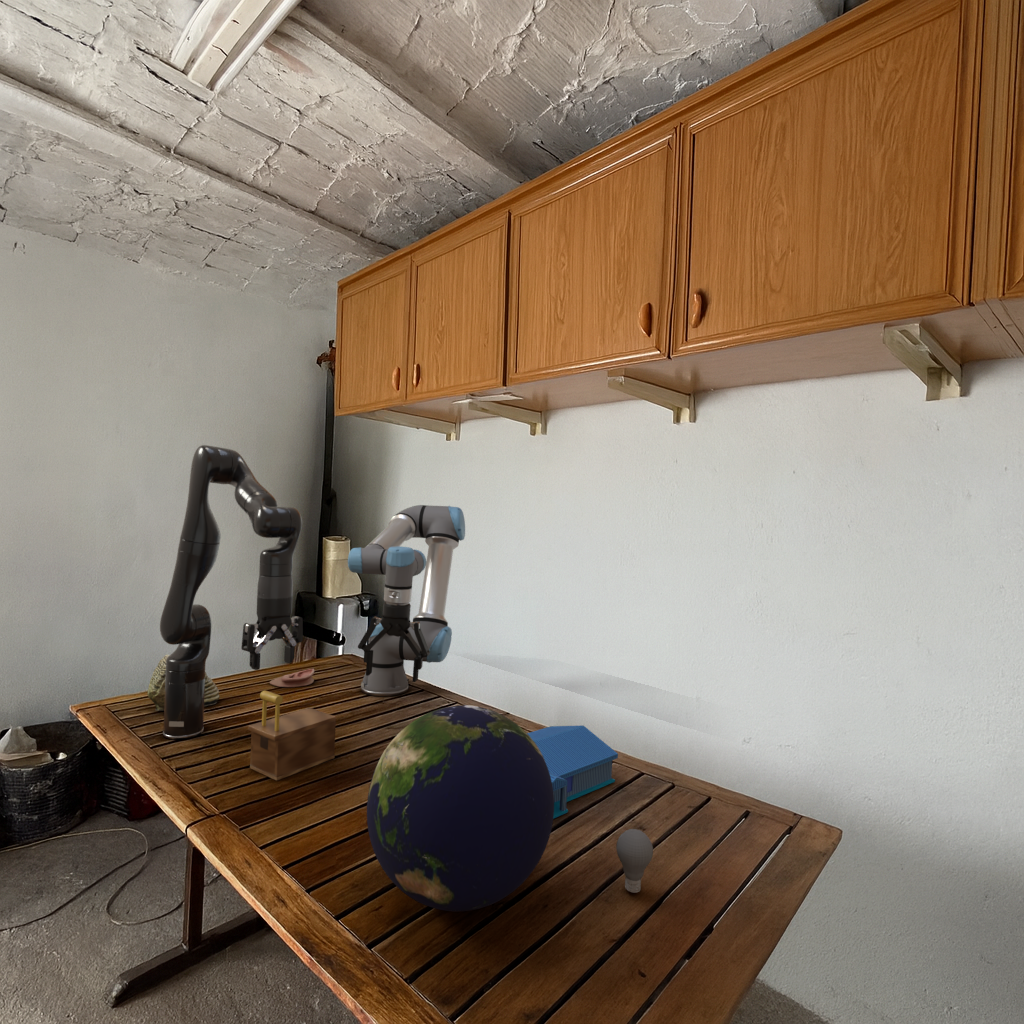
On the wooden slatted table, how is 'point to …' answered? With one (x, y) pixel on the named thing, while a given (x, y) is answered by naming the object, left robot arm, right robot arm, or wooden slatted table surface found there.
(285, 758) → the chest
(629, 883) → the light bulb
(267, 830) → the wooden slatted table surface
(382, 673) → the right robot arm
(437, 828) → the globe
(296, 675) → the anatomical model
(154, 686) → the fossil
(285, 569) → the left robot arm
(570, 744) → the model building
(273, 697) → the lid
